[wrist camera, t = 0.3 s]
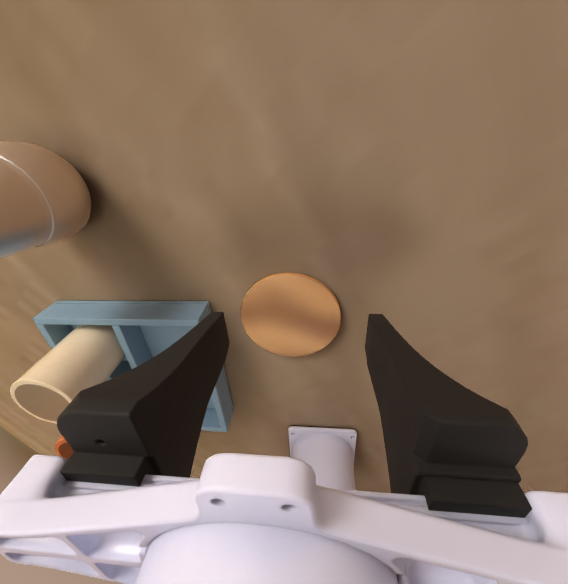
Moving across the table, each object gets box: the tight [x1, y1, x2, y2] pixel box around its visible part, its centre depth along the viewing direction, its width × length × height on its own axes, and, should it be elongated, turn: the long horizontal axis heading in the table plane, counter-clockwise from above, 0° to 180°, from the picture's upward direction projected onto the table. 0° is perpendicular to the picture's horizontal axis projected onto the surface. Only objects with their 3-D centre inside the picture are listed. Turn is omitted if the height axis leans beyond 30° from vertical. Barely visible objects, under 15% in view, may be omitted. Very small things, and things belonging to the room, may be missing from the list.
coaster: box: [241, 273, 341, 356], centre depth 26 cm, size 9×9×1 cm
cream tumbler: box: [10, 325, 125, 423], centre depth 26 cm, size 5×5×8 cm
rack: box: [33, 301, 234, 432], centre depth 30 cm, size 15×15×3 cm
